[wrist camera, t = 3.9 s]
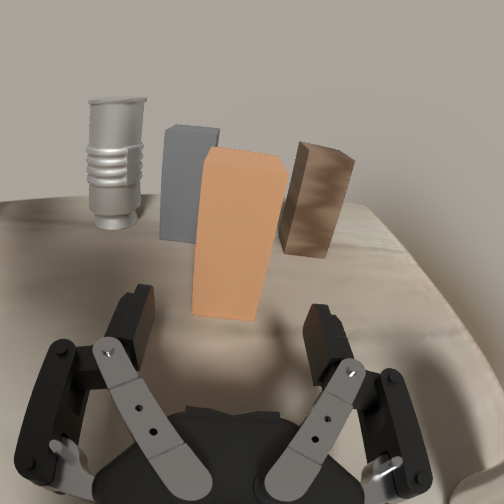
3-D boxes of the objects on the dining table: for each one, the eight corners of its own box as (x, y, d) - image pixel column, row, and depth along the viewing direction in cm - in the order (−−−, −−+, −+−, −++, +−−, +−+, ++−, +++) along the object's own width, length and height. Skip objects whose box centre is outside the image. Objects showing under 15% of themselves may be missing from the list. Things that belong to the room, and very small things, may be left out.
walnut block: (283, 253, 32) (309, 149, 26) (278, 232, 37) (299, 141, 31) (324, 258, 33) (355, 160, 27) (315, 238, 37) (339, 150, 31)
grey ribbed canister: (111, 238, 29) (111, 99, 21) (80, 220, 31) (77, 100, 24) (153, 218, 35) (160, 97, 27) (119, 203, 37) (122, 96, 29)
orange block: (191, 314, 22) (203, 161, 16) (198, 277, 26) (211, 146, 20) (254, 321, 23) (288, 174, 16) (251, 283, 27) (277, 155, 21)
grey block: (159, 239, 31) (165, 130, 25) (169, 219, 35) (175, 124, 29) (204, 244, 31) (216, 134, 25) (208, 224, 36) (220, 128, 29)
